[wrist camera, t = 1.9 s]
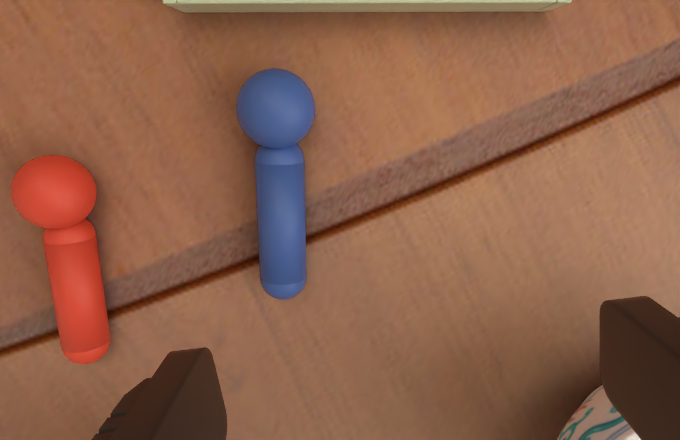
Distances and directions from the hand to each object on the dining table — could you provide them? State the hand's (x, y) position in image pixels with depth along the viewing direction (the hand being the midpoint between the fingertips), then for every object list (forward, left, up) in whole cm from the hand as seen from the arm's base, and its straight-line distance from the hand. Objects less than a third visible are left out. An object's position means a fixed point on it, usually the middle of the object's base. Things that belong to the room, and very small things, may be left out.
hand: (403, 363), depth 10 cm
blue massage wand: (-5, +2, -16) cm, 16 cm away
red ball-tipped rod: (-16, -2, -16) cm, 22 cm away
